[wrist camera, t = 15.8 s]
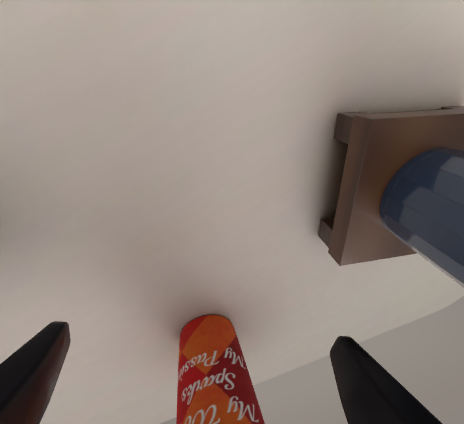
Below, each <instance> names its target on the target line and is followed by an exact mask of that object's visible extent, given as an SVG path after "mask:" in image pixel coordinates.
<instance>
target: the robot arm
mask: <svg viewBox="0 0 464 424" xmlns="http://www.w3.org/2000/svg"><path fill="white" fill-rule="evenodd" d="M69 346H70V332H69V325H68V323H67V322H58V321H55V322H52V323H50V324H49V325H47V326H46V327H45V328H44V329H43V330H41V331H40V332H39V333H38V334H37V335H35V336H34V337H33V338H32V339H30V340H29V341H28V342H27V343H26V344H24V345H23V346H22V347H21V348H19V349H18V350H17V351H16V352H15V353H13V354H12V355H11V356H10V357H8V358H7V359H6V360H5V361H4V362H2V363H1V364H0V424H39V423H40V421H41V419H42V417H43V415H44V413H45V410H46V408H47V406H48V404H49V401H50V399H51V396H52V393H53V391H54V388H55V385H56V382H57V380H58V377H59V374H60V371H61V368H62V366H63V363H64V360H65V357H66V355H67V352H68V349H69ZM330 358H331V362H332V366H333V370H334V374H335V379H336V383H337V387H338V391H339V395H340V399H341V403H342V406H343V409H344V412H345V415H346V418H347V421H348V424H442V423H441V422H440V421H439V420H438V419H437V418H435V416H434V415H433V414H432V413H430V412H429V411H428V410H427V409H426V408H425V407H424V406H423V405H422V404H421V403H420V402H419V401H418V400H417V399H416V398H415V397H414V396H413V395H411V394H410V393H409V392H408V391H407V390H406V389H405V388H404V387H403V386H402V385H401V384H400V383H399V382H398V381H397V380H396V379H395V378H394V377H392V376H391V375H390V374H389V373H388V372H387V371H386V370H385V369H384V368H383V367H382V366H381V365H380V364H379V363H378V362H376V360H375V359H373V358H372V357H371V356H370V355H369V354H368V353H367V352H366V351H365V350H364V349H363V348H362V347H361V346H359V344H358V343H357V342H356V341H354V340H353V339H352V338H351V337H348V336H339V337H338V338H337V339H336V341H335V343H334V345H333V346H332V348H331V350H330Z"/></svg>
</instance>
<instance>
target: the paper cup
mask: <svg viewBox="0 0 464 424" xmlns="http://www.w3.org/2000/svg"><path fill="white" fill-rule="evenodd" d="M177 424H265V423H264V420H263V417H262V414H261V410H260V407H259V405H258V401H257V398H256V395H255V391H254V388H253V385H252V382H251V379H250V376H249V372H248V369H247V366H246V363H245V360H244V357H243V354H242V351H241V347H240V344H239V341H238V338H237V335H236V332H235V330H234V327H233V325H232V323H231V322H230V321H229V320H228V319H227V318H225V317H223V316H219V315H206V316H201V317H198V318H196V319H194V320H192V321H190V322H189V323H188V324H187V325H186V326H185V327H184V328H183V330H182V332H181V335H180V344H179V366H178V394H177Z"/></svg>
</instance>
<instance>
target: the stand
mask: <svg viewBox="0 0 464 424" xmlns="http://www.w3.org/2000/svg"><path fill="white" fill-rule="evenodd" d="M334 138H335V139H337V140H340V141H342V142H344V143H347V144H348V150H347V155H346V160H345V166H344V171H343V176H342V182H341V187H340V192H339V198H338V203H337V208H336V213H335V217H333V218H325V219H321V221H320V228H319V234H318V236H319V237H320V238H321V240H322V241H323V242H324V243H325V244H326V245H327V246H328V248H329V251H328V253H329V254H330V255H331V256H332V257H333V259H334V260H335V261H336V262H337V263H338V264H339V266H342V265H348V264H354V263H360V262H367V261H373V260H379V259H385V258H391V257H398V256H404V255H410V254H416V253H417V252H415V251H414V250H413V249H411V248H410V247H409V246H407V245H406V244H405V243H403V242H402V241H401V240H399V239H398V238H397V237H395V236H394V235H393V234H392V233H391V232H390V231H388V230H387V229H386V228H385V227H384V225H383V223H382V221H381V218H380V203H381V199H382V196H383V193H384V191H385V189H386V187H387V185H388V183H389V182H390V180H391V179H392V177H393V176H394V175H395V174H396V172H397V171H398V170H399V169H400V168H401V167H402V166H403V165H405V164H406V163H407V162H408V161H409V160H411V159H412V158H414V157H415V156H417V155H419V154H421V153H423V152H425V151H428V150H431V149H435V148H444V147H445V148H451V149H458V150H461V151H464V106H453V107H442V108H441V110H428V111H411V112H394V113H377V114H367V113H363V112H347V113H338V115H337V121H336V128H335V134H334Z"/></svg>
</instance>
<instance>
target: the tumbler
mask: <svg viewBox="0 0 464 424" xmlns="http://www.w3.org/2000/svg"><path fill="white" fill-rule="evenodd" d="M380 218H381V221H382V223H383V225H384V227H385V228H386V229H387V230H388V231H390V232H391V233H392V234H393V235H394V236H395V237H397V238H398V239H399V240H401V241H402V242H403V243H405V244H406V245H407V246H409V247H410V248H411V249H413V250H414V251H415V252H417V253H418V254H419V255H421V256H422V257H423V258H425V259H426V260H427V261H429V262H430V263H431V264H433V265H434V266H435V267H437V268H438V269H439V270H441V271H442V272H444V273H445V274H446V275H448V276H449V277H450V278H452V279H453V280H454V281H456V282H457V283H458V284H460V285H461V286H462V287H464V151H461V150H458V149H451V148H445V147H444V148H435V149H431V150H428V151H425V152H423V153H421V154H419V155H417V156H415V157H414V158H412V159H411V160H409V161H408V162H407V163H406V164H405V165H403V166H402V167H401V168H400V169H399V170H398V171H397V172H396V174H395V175H394V176H393V177H392V179H391V180H390V182H389V183H388V185H387V187H386V189H385V191H384V193H383V196H382V199H381V203H380Z"/></svg>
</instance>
